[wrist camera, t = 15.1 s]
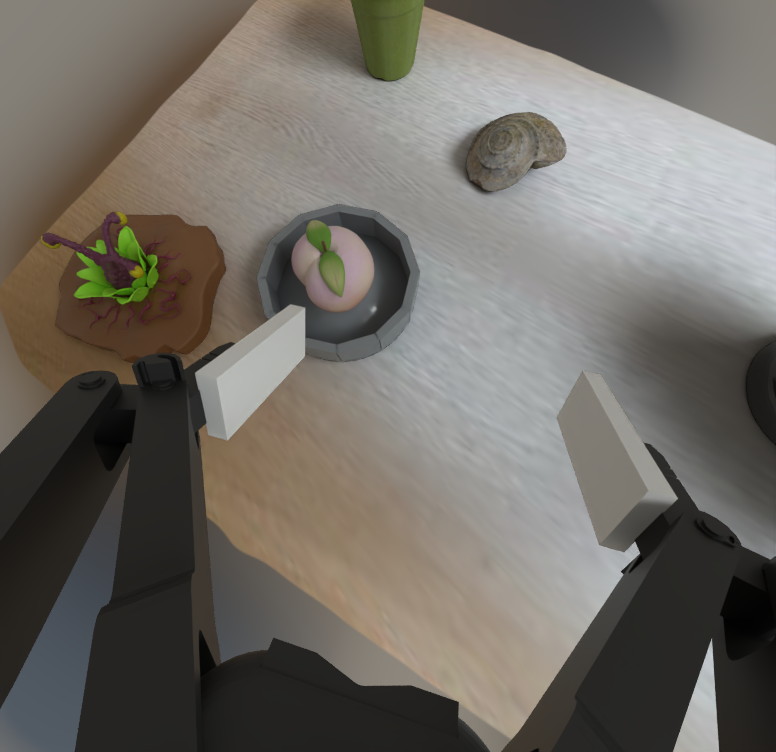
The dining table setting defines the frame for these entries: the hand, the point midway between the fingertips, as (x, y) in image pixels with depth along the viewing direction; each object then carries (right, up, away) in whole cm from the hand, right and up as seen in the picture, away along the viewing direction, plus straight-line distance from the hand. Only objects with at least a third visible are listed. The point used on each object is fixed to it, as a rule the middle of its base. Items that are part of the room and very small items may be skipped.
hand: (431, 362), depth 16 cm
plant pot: (-2, +46, +34) cm, 57 cm away
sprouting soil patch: (-33, +11, +28) cm, 45 cm away
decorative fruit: (-8, +10, +25) cm, 28 cm away
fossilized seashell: (+15, +28, +29) cm, 43 cm away
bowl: (-8, +10, +26) cm, 29 cm away
